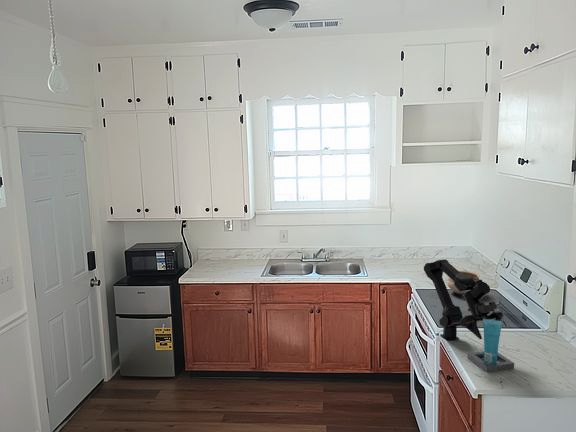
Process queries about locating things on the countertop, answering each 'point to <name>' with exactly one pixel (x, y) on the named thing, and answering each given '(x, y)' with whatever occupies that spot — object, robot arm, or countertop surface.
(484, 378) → the countertop surface
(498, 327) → the tube
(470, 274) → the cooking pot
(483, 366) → the grey square frame
